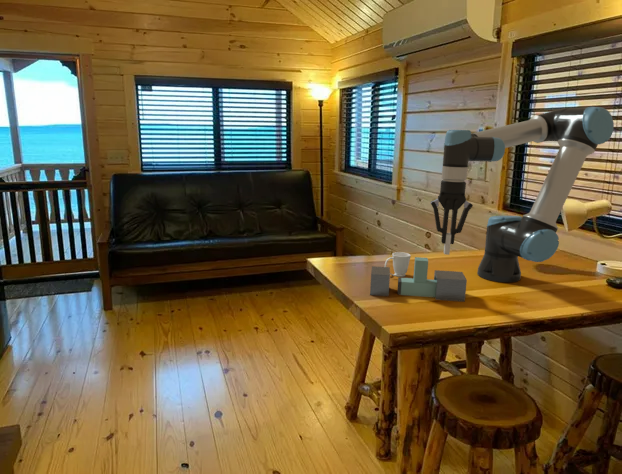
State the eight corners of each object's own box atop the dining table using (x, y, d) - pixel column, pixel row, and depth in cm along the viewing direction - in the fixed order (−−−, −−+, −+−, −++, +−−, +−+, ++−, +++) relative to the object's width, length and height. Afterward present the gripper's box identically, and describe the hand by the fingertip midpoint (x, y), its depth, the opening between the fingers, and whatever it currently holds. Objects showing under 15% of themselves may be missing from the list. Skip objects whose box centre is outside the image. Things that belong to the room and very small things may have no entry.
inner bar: (461, 294, 157) (464, 259, 154) (463, 299, 152) (467, 263, 150) (397, 290, 160) (399, 256, 157) (397, 294, 155) (399, 259, 153)
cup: (413, 277, 174) (414, 256, 172) (388, 279, 171) (390, 257, 169) (403, 271, 181) (405, 251, 179) (380, 273, 178) (381, 252, 176)
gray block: (460, 292, 159) (462, 271, 157) (464, 301, 150) (466, 280, 149) (433, 290, 160) (434, 270, 158) (435, 299, 152) (437, 278, 150)
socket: (388, 287, 162) (389, 267, 161) (388, 296, 154) (389, 275, 152) (370, 286, 163) (371, 266, 162) (370, 294, 155) (371, 274, 153)
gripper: (473, 180, 149) (465, 251, 155) (431, 178, 151) (424, 249, 157) (477, 182, 142) (469, 257, 147) (433, 180, 144) (426, 255, 149)
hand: (446, 253), depth 152 cm, fingers closed
